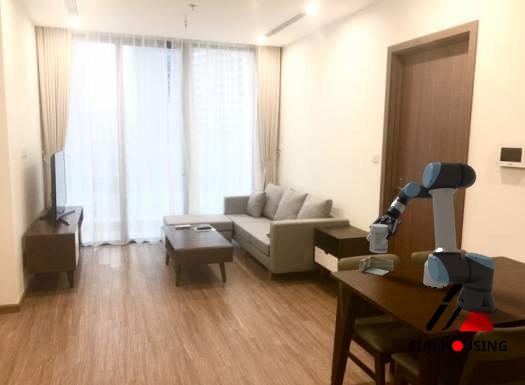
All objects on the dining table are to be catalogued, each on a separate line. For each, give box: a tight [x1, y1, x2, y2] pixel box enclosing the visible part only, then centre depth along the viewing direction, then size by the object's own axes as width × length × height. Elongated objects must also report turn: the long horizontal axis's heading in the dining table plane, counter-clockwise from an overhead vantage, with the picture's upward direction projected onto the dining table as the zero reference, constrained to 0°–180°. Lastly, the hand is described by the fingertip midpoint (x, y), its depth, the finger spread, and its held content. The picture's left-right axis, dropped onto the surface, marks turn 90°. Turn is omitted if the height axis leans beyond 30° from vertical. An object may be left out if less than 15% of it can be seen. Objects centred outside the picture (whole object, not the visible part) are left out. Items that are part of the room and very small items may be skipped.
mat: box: [364, 267, 390, 276], centre depth 233 cm, size 10×10×1 cm
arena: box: [358, 255, 395, 273], centre depth 234 cm, size 14×14×6 cm
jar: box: [422, 253, 449, 289], centre depth 214 cm, size 12×10×15 cm
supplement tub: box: [369, 223, 389, 254], centre depth 232 cm, size 10×10×15 cm
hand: (375, 241), depth 230 cm, fingers closed on supplement tub, 9 cm apart
